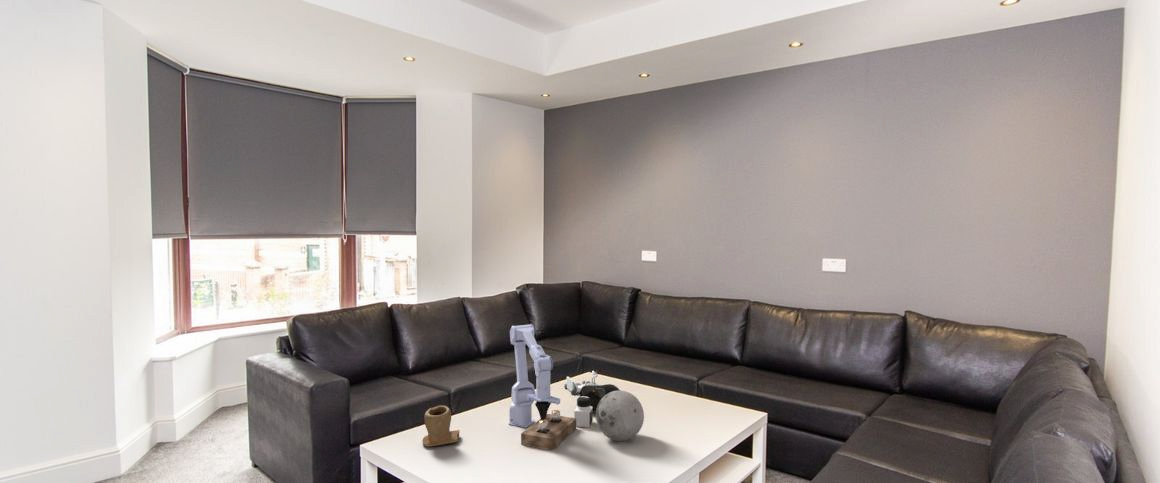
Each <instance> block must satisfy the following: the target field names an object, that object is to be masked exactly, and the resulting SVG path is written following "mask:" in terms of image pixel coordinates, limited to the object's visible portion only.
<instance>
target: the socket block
mask: <svg viewBox="0 0 1160 483" xmlns="http://www.w3.org/2000/svg"><path fill="white" fill-rule="evenodd" d="M539 420H541V418H539ZM539 420H537V421H535V422H534V423H532V424H531V425H530V426H528V427H527V428H526V429H525V430H524V431H522V432H521V433H520V442H521V443H520V445H523V446H529V447H533V448H537V449H538V448H539V449H543V450H548V451H553V450H555V448H557V447H558V445H560V444H561V443H562V442H563V441H564V440H565V439H567V437H568V436H570V435H571V434H572V433H573V432H574V431H575V430H576V429H577V427H576V418H574V417H570V416H563V415H560V423H553V422H552V413H551V414H550V413H547V415H546V419H545V420H547V421H548V432H547V433H545V434H544V433H539Z"/></svg>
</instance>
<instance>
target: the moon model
mask: <svg viewBox="0 0 1160 483" xmlns="http://www.w3.org/2000/svg"><path fill="white" fill-rule="evenodd" d="M644 420H645V412H644V408H643V406H642V403H641V402H640V400H639V399H638V398H637V396H635V395H634V394H633V393H631V392H628V391H626V390H620V389H619V390H618V391H612V392H610V393H608V394H606V395H605V396H604V397H603V398H602V399H601V400H600V402H599V404H598V406H597V409H596V412H595V421H596V424H597V426H598V429H599V430H600V432H601V433H602V434H603V435H604V436H605V437H607V438H608V439H610V440H611V441H612V440H613V441H617V442H624V441H627V440H628V441H629V440H631V439H633V438H634V437H636V435H637V434H639V432H640V431H641V429H642V427H643V424H644Z"/></svg>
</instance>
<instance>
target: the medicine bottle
mask: <svg viewBox="0 0 1160 483" xmlns="http://www.w3.org/2000/svg"><path fill="white" fill-rule="evenodd" d="M573 412H574V413H573V415H574V417H573V418H576V428H577V427H578V428H591V426H592V424H593V421H594V418H593V415H594V413H593V407H591V406H590V398H589V397H585V396H582V397H580V396H578V397H577V399H576V408H575V409H574V411H573Z"/></svg>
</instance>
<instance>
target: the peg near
mask: <svg viewBox="0 0 1160 483" xmlns="http://www.w3.org/2000/svg"><path fill="white" fill-rule="evenodd" d="M538 421H539V433H544V434H545V433H547V432H548V421H547V420H540V419H539V420H538Z"/></svg>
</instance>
